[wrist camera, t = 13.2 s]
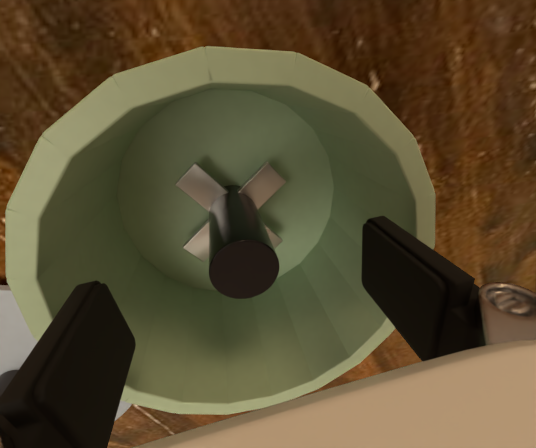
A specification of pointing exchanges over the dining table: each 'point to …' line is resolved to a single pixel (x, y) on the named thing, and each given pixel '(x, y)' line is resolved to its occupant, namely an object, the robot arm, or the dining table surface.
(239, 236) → the blade
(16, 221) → the processor bowl
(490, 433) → the robot arm
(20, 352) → the lid
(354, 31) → the dining table surface
